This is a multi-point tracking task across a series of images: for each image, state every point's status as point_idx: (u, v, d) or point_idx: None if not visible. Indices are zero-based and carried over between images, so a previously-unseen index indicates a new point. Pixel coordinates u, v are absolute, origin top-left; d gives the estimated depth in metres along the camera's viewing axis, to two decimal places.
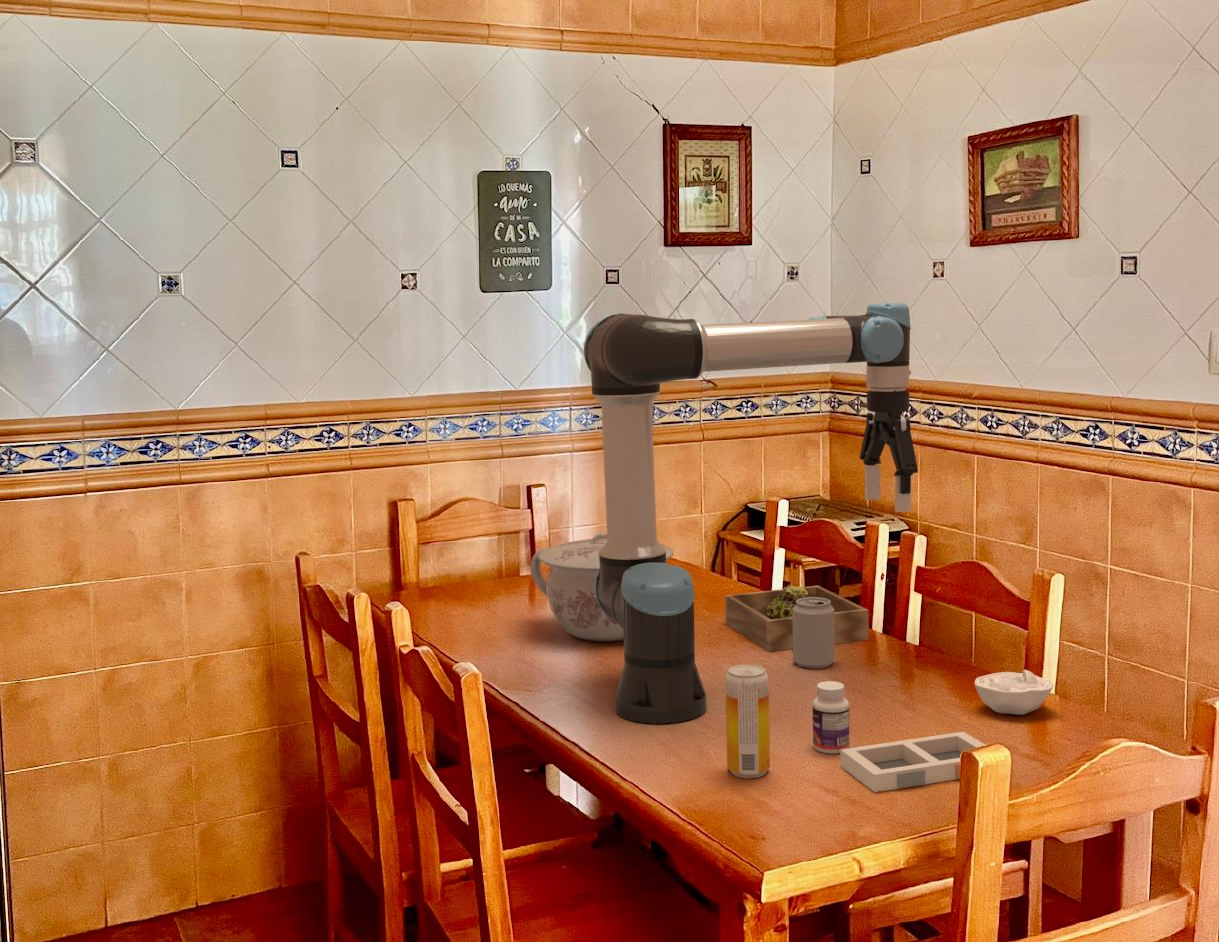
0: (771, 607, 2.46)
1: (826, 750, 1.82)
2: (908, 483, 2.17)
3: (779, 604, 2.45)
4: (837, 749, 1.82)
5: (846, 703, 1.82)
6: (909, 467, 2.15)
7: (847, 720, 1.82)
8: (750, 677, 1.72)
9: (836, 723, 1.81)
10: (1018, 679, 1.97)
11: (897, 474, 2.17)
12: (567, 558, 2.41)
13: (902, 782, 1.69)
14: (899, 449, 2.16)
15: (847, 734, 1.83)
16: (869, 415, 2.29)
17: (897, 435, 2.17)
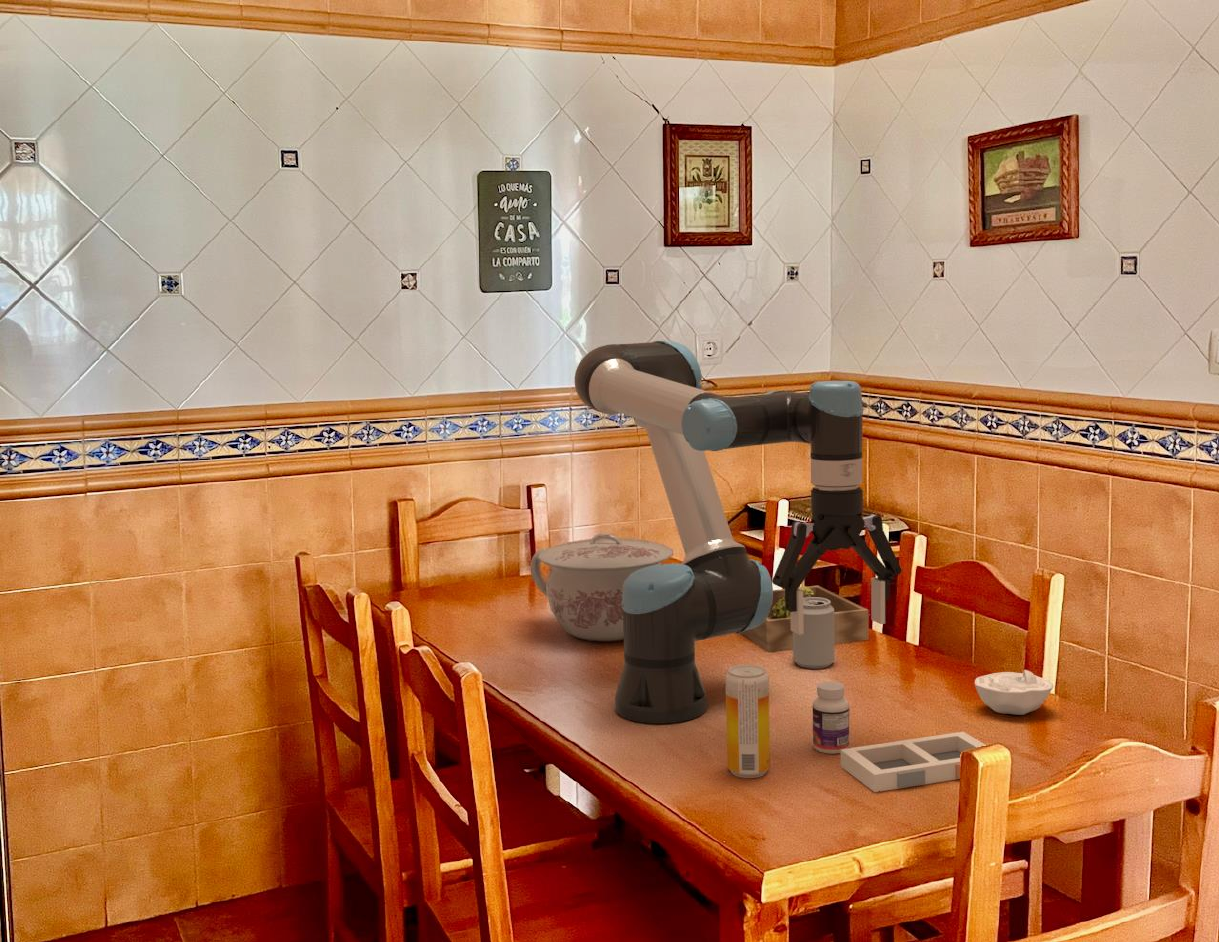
0: (777, 607, 2.46)
1: (826, 750, 1.82)
2: (788, 599, 1.81)
3: None
4: (837, 749, 1.82)
5: (846, 703, 1.82)
6: (777, 579, 1.81)
7: (847, 720, 1.82)
8: (750, 677, 1.72)
9: (836, 723, 1.81)
10: (1018, 679, 1.97)
11: None
12: (567, 558, 2.41)
13: (902, 782, 1.69)
14: None
15: (847, 734, 1.83)
16: (867, 516, 1.85)
17: None
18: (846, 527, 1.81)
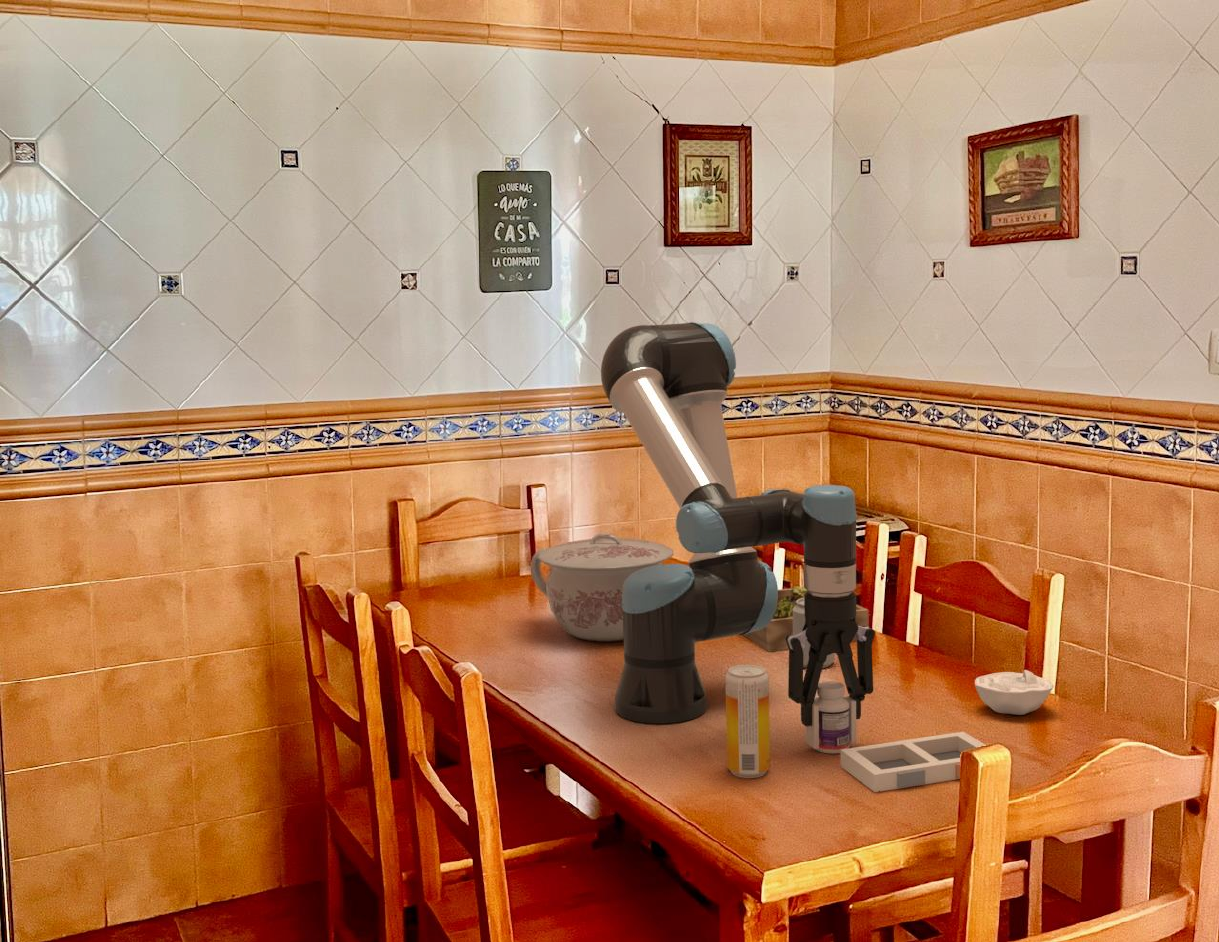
0: (778, 608, 2.45)
1: (826, 750, 1.82)
2: (804, 713, 1.82)
3: (787, 605, 2.44)
4: (837, 749, 1.82)
5: (846, 703, 1.82)
6: (792, 694, 1.82)
7: (847, 720, 1.82)
8: (750, 677, 1.72)
9: (836, 723, 1.81)
10: (1018, 679, 1.97)
11: None
12: (567, 558, 2.41)
13: (902, 782, 1.69)
14: None
15: (847, 734, 1.83)
16: None
17: None
18: (841, 631, 1.81)
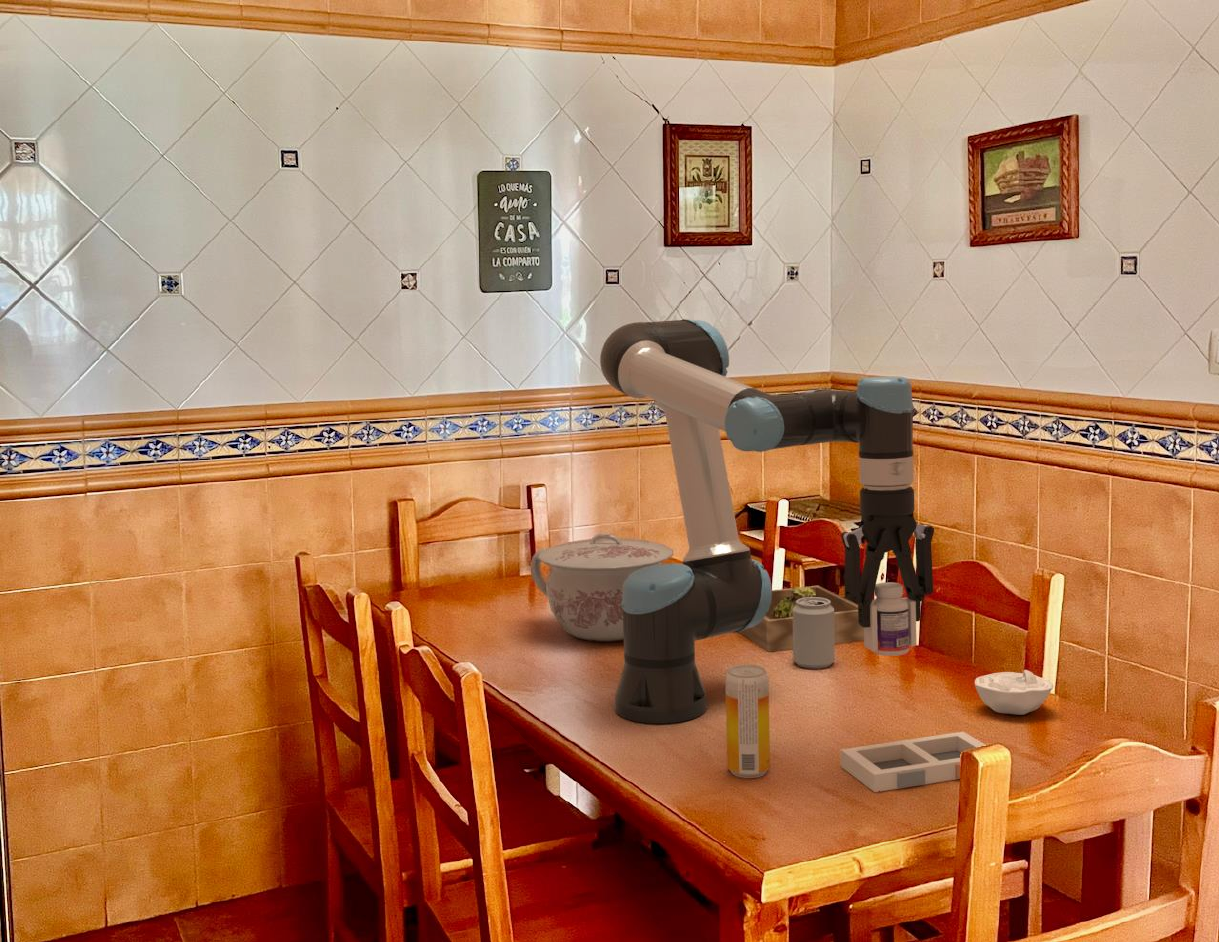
0: (779, 608, 2.45)
1: (885, 652, 1.75)
2: (861, 614, 1.76)
3: (787, 605, 2.44)
4: (897, 651, 1.75)
5: (905, 603, 1.75)
6: (849, 593, 1.75)
7: (906, 621, 1.75)
8: (750, 677, 1.72)
9: (895, 623, 1.74)
10: (1018, 679, 1.97)
11: None
12: (567, 558, 2.41)
13: (902, 782, 1.69)
14: None
15: (907, 635, 1.76)
16: None
17: None
18: (898, 527, 1.75)
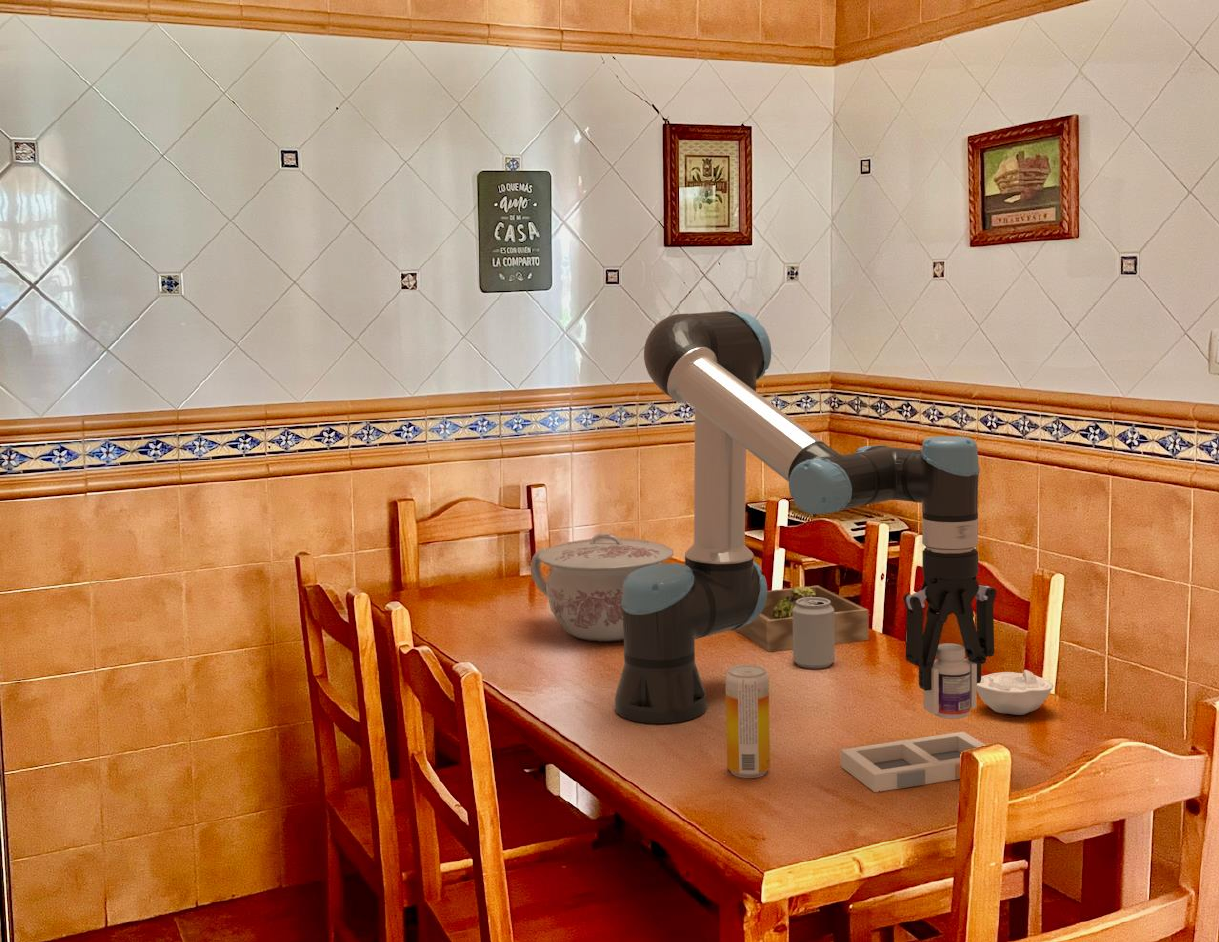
0: (779, 608, 2.45)
1: (946, 715, 1.73)
2: (922, 677, 1.73)
3: (787, 605, 2.44)
4: (958, 714, 1.73)
5: (967, 665, 1.73)
6: (911, 656, 1.73)
7: (968, 683, 1.73)
8: (750, 677, 1.72)
9: (957, 686, 1.72)
10: (1018, 679, 1.97)
11: None
12: (567, 558, 2.41)
13: (902, 782, 1.69)
14: None
15: (968, 698, 1.74)
16: None
17: None
18: (962, 590, 1.72)
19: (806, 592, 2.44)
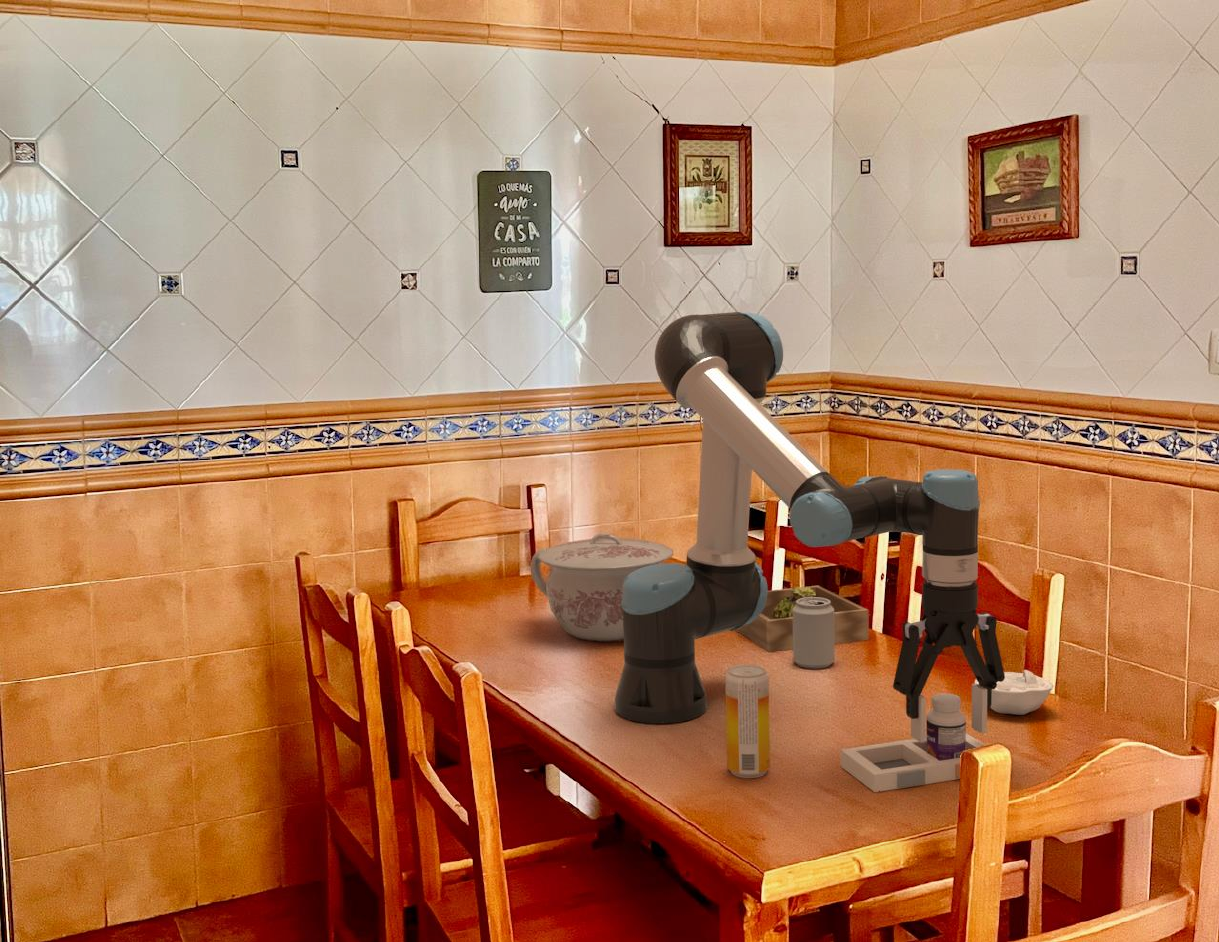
0: (779, 608, 2.45)
1: None
2: (909, 705, 1.73)
3: (787, 605, 2.44)
4: None
5: (963, 716, 1.74)
6: (898, 684, 1.73)
7: (964, 734, 1.74)
8: (750, 677, 1.72)
9: (953, 737, 1.73)
10: (1018, 679, 1.97)
11: None
12: (567, 558, 2.41)
13: (902, 782, 1.69)
14: None
15: (964, 749, 1.75)
16: (981, 614, 1.76)
17: None
18: (960, 623, 1.73)
19: (806, 592, 2.44)
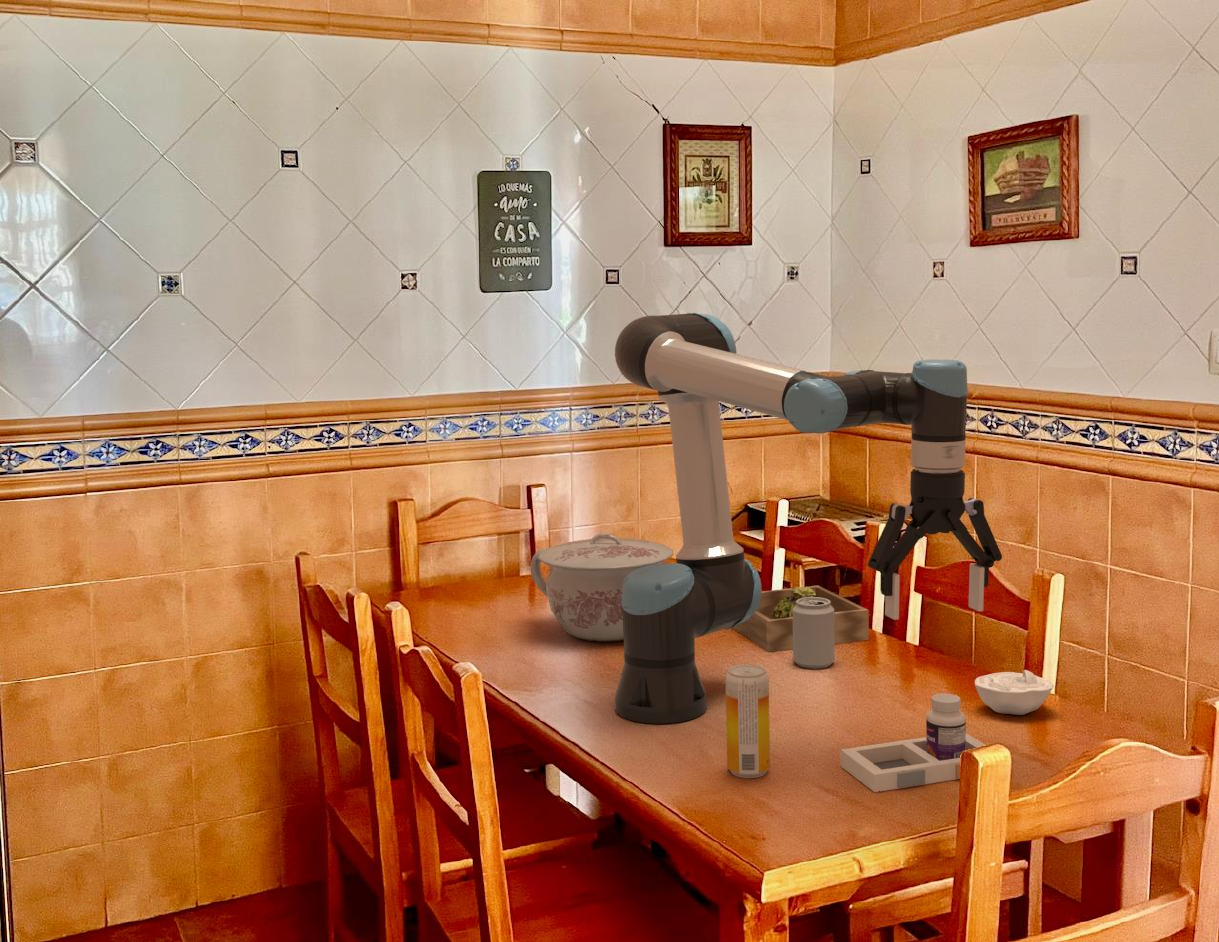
0: (779, 608, 2.45)
1: None
2: (884, 583, 1.76)
3: (787, 605, 2.44)
4: None
5: (963, 716, 1.74)
6: (873, 562, 1.76)
7: (964, 734, 1.74)
8: (750, 677, 1.72)
9: (953, 737, 1.73)
10: (1018, 679, 1.97)
11: None
12: (567, 558, 2.41)
13: (902, 782, 1.69)
14: None
15: (964, 749, 1.75)
16: (968, 500, 1.80)
17: None
18: (946, 511, 1.76)
19: (806, 592, 2.44)
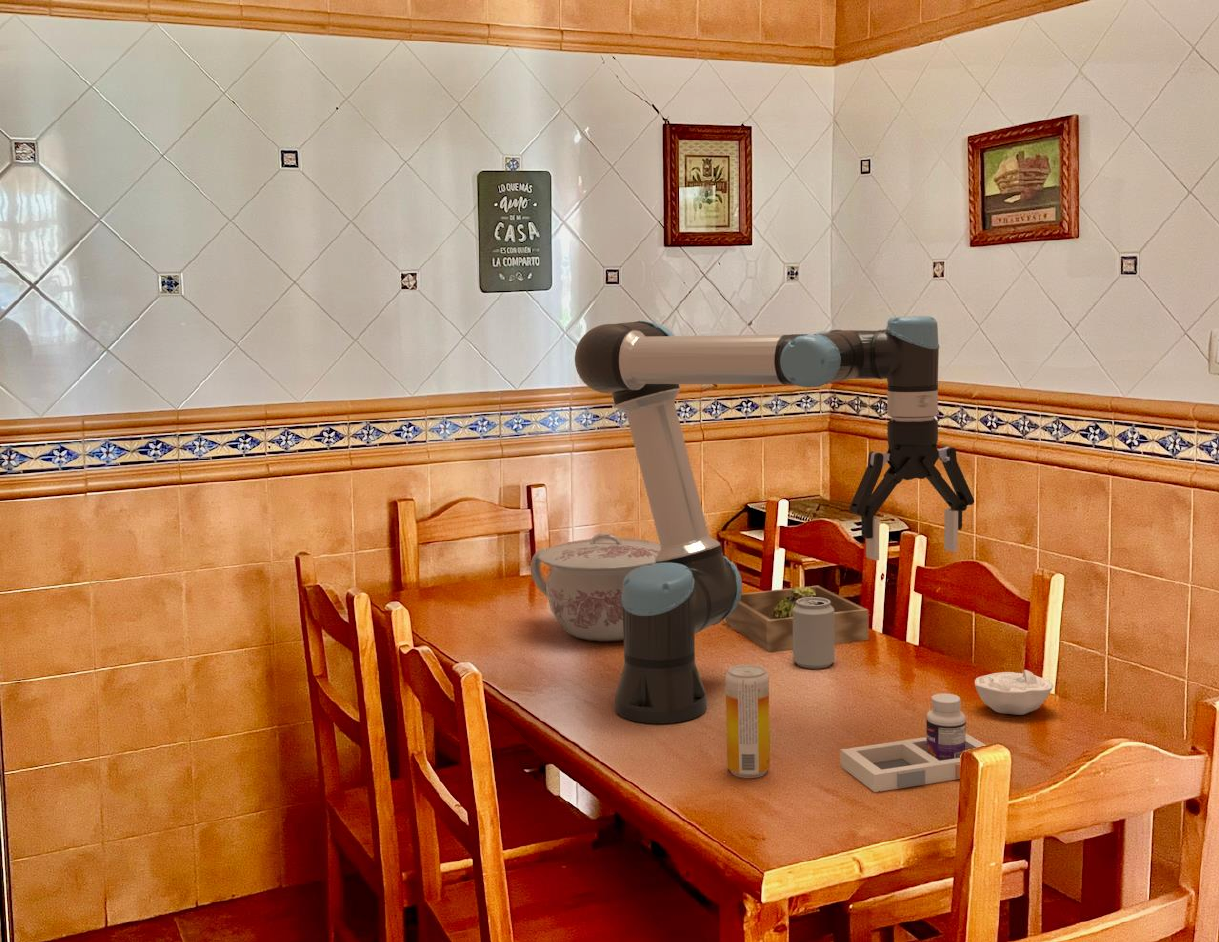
0: (779, 608, 2.45)
1: None
2: (864, 526, 1.88)
3: (787, 605, 2.44)
4: None
5: (963, 716, 1.74)
6: (854, 506, 1.88)
7: (964, 734, 1.74)
8: (750, 677, 1.72)
9: (953, 737, 1.73)
10: (1018, 679, 1.97)
11: None
12: (567, 558, 2.41)
13: (902, 782, 1.69)
14: None
15: (964, 749, 1.75)
16: (941, 448, 1.92)
17: None
18: (921, 457, 1.88)
19: (806, 592, 2.44)
